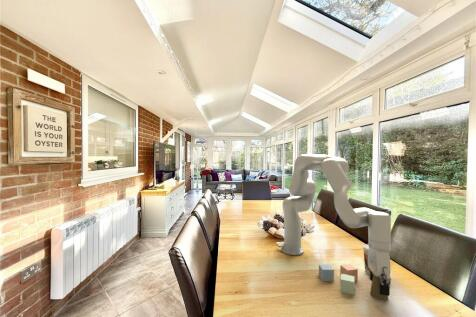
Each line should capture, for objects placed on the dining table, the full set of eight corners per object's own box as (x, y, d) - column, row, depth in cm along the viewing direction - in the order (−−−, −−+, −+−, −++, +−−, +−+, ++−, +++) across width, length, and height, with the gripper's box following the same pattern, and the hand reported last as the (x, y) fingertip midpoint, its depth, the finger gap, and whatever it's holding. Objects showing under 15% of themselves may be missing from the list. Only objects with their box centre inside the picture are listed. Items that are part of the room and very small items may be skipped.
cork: (366, 291, 91) (366, 264, 91) (380, 291, 92) (381, 264, 92) (377, 301, 85) (377, 272, 85) (392, 300, 86) (392, 271, 86)
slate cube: (322, 280, 100) (322, 269, 100) (318, 275, 105) (318, 264, 105) (333, 281, 100) (333, 269, 100) (329, 275, 105) (329, 264, 105)
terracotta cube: (347, 281, 99) (347, 270, 99) (340, 275, 104) (340, 265, 104) (357, 280, 100) (357, 269, 100) (349, 274, 105) (349, 264, 105)
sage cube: (340, 291, 92) (340, 279, 92) (341, 285, 96) (341, 273, 96) (354, 294, 90) (354, 282, 90) (354, 288, 94) (354, 276, 94)
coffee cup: (358, 270, 109) (358, 245, 109) (372, 267, 112) (372, 242, 112) (376, 280, 100) (376, 253, 100) (391, 276, 104) (391, 250, 104)
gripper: (361, 235, 98) (361, 275, 98) (377, 252, 81) (377, 299, 81) (380, 237, 96) (380, 277, 96) (401, 253, 79) (401, 302, 79)
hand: (379, 287), depth 89 cm, fingers open, 9 cm apart
